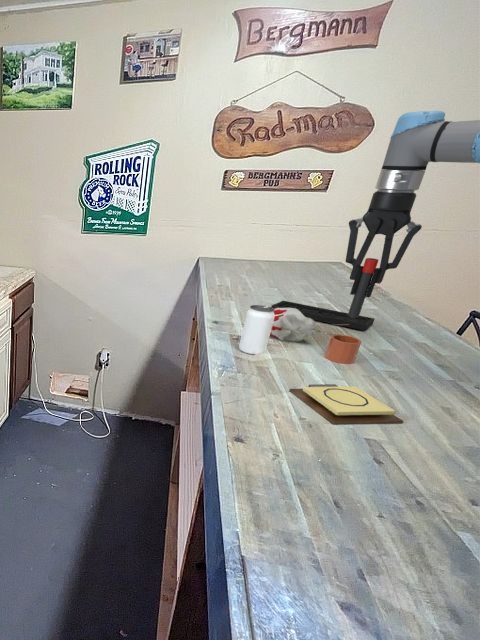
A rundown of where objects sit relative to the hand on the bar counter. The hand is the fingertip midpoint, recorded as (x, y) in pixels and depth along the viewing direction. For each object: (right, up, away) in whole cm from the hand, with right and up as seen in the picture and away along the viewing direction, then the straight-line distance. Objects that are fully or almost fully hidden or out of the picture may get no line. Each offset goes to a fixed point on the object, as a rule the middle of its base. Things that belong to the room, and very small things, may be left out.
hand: (360, 294), depth 110 cm
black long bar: (+15, -3, +37) cm, 40 cm away
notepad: (-15, -24, -15) cm, 33 cm away
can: (-19, -13, +13) cm, 27 cm away
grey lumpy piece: (-7, -9, +22) cm, 25 cm away
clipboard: (-15, -25, -14) cm, 33 cm away
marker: (0, -5, +2) cm, 6 cm away
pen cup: (0, -16, +7) cm, 18 cm away
